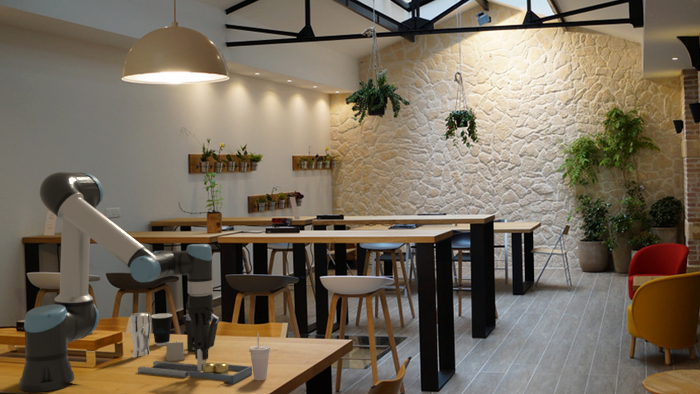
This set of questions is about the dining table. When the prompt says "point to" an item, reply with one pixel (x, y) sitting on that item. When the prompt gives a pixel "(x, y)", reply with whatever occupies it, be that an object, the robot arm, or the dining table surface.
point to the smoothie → (259, 360)
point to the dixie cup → (161, 328)
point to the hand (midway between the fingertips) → (202, 369)
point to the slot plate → (169, 369)
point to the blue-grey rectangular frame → (231, 379)
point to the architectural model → (175, 351)
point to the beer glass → (140, 333)
